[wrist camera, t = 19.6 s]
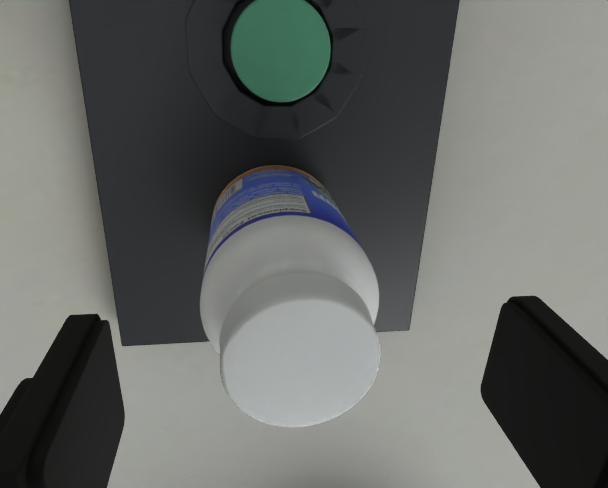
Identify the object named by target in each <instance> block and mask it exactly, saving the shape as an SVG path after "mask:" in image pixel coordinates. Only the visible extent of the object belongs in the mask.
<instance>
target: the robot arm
mask: <svg viewBox="0 0 608 488" xmlns="http://www.w3.org/2000/svg"><path fill="white" fill-rule="evenodd" d="M481 395H482V398H483V401H484V402H485V404H486V405H487V407H488V409H489V410H490V412H491V413H492V415H493V416H494V418H495V419H496V421H497V422H498V424H499V425H500V427H501V428H502V430H503V431H504V433H505V434H506V436H507V437H508V439H509V440H510V442H511V443H512V445H513V446H514V448H515V450H516V451H517V453H518V454H519V456H520V457H521V459H522V460H523V462H524V463H525V465H526V466H527V468H528V469H529V471H530V472H531V474H532V475H533V477H534V478H535V480H536V481H537V483H538V484H539V486H540V487H541V488H608V360H607V359H606V358H605V357H604V356H603V355H602V354H600V353H599V352H598V351H597V350H596V349H595V348H594V347H593V346H592V345H591V344H589V343H588V342H587V341H586V340H585V339H584V338H583V337H582V336H581V335H579V334H578V333H577V332H576V331H575V330H574V329H573V328H572V327H571V326H569V325H568V324H567V323H566V322H565V321H564V320H563V319H562V318H561V317H559V316H558V315H557V314H556V313H555V312H554V311H553V310H552V309H551V308H549V307H548V306H547V305H546V304H545V303H544V302H543V301H542V300H541V299H539V298H538V297H536V296H517V297H511V298H510V299H509V300H508V301H507V303H504V304H503V305H502V307H501V310H500V314H499V318H498V322H497V326H496V330H495V333H494V337H493V341H492V345H491V349H490V353H489V357H488V360H487V364H486V368H485V372H484V376H483V380H482V384H481ZM124 418H125V413H124V406H123V400H122V394H121V388H120V383H119V377H118V371H117V365H116V359H115V353H114V348H113V342H112V336H111V330H110V325H109V322H108V321H107V320H101V319H100V317H99V315H98V314H84V315H70V316H69V317H68V318H67V319H66V321H65V323H64V324H63V326H62V328H61V330H60V331H59V333H58V335H57V337H56V338H55V340H54V342H53V344H52V345H51V347H50V349H49V351H48V352H47V354H46V356H45V358H44V359H43V361H42V363H41V365H40V366H39V368H38V370H37V372H36V373H35V375H34V377H33V378H26V379H24V380H23V381H21V383H20V384H19V385H18V386H17V388H16V390H15V391H14V393H13V395H12V396H11V398H10V400H9V401H8V403H7V405H6V406H5V408H4V410H3V411H2V413H1V415H0V488H107V485H108V481H109V478H110V474H111V470H112V467H113V463H114V460H115V456H116V452H117V449H118V445H119V442H120V438H121V434H122V431H123V427H124Z"/></svg>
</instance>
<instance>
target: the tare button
mask: <svg viewBox="0 0 608 488" xmlns="http://www.w3.org/2000/svg"><path fill="white" fill-rule="evenodd" d="M330 53H331V45H330V37H329V33H328V30H327V27H326V25H325V23H324V21H323V19H322V17H321V16H320V15H319V13H318V12H317V11H316V10H315V9H314V8H313V7H312V6H311V5H310V4H309V3H308V2H306V1H304V0H255V1H254V2H252V3H251V4H250V5H249V6H248V7H247V8H246V9H245V10H244V11H243V12H242V13H241V15H240V16H239V18H238V20H237V21H236V24H235V26H234V29H233V32H232V37H231V57H232V62H233V65H234V68H235V71H236V73H237V75H238V77H239V78H240V80H241V81H242V82H243V84H244V85H245V86H246V87H247V88H248V89H249V90H250V91H251V92H253V93H254V94H255V95H257V96H259V97H261V98H263V99H266V100H268V101H273V102H290V101H294V100H297V99H300V98H302V97H304V96H306V95H307V94H309V93H310V92H311V91H312V90H314V89H315V88H316V86H317V85H318V84H319V83H320V81H321V80H322V78H323V77H324V75H325V73H326V70H327V68H328V64H329V60H330Z"/></svg>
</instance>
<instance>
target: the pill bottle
mask: <svg viewBox="0 0 608 488" xmlns="http://www.w3.org/2000/svg"><path fill="white" fill-rule="evenodd" d="M378 307H379V289H378V283H377V279H376V275H375V272H374V270H373V267H372V265H371V263H370V261H369V259H368V258H367V256H366V254H365V252H364V250H363V249H362V247H361V246H360V244H359V242H358V241H357V239H356V237H355V236H354V234H353V232H352V230H351V229H350V227H349V225H348V224H347V222H346V220H345V218H344V217H343V215H342V214H341V212H340V210H339V209H338V207H337V205H336V204H335V202H334V200H333V199H332V197H331V195H330V194H329V192H328V191H327V190H326V189H325V188H324V186H323V185H322V184H321V183H320V182H319V181H318V180H316V179H315V178H314V177H313V176H311V175H309V174H308V173H306V172H304V171H302V170H299V169H297V168H293V167H289V166H282V165H269V166H262V167H257V168H254V169H251V170H249V171H246V172H244V173H243V174H241V175H239V176H238V177H236V178H235V179H234V180H233V181H231V182H230V183H229V184H228V185H227V186H226V188H225V189H224V190H223V191H222V193H221V195H220V196H219V198H218V200H217V202H216V205H215V207H214V211H213V215H212V221H211V228H210V236H209V243H208V249H207V256H206V262H205V268H204V274H203V280H202V288H201V295H200V314H201V320H202V324H203V328H204V331H205V333H206V336H207V338H208V340H209V342H210V343H211V345H212V346H213V348H214V349H215V350H216V352H217V353H218V354H219V355H220V373H221V378H222V382H223V385H224V387H225V390H226V392H227V394H228V395H229V397H230V398H231V400H232V401H233V402H234V403H235V404H236V405H237V407H238V408H240V409H241V410H242V411H243V412H244V413H246V414H247V415H249V416H251V417H253V418H255V419H257V420H259V421H261V422H264V423H267V424H271V425H275V426H282V427H304V426H310V425H315V424H319V423H322V422H325V421H328V420H331V419H333V418H335V417H337V416H339V415H341V414H342V413H344V412H346V411H347V410H349V409H350V408H351V407H353V406H354V405H355V404H356V403H357V402H359V401H360V400H361V399H362V398H363V396H364V395H365V394H366V393H367V391H368V390H369V389H370V387H371V386H372V384H373V382H374V380H375V378H376V375H377V373H378V368H379V365H380V359H381V350H380V343H379V339H378V336H377V333H376V330H375V328H374V323H375V320H376V316H377V312H378Z"/></svg>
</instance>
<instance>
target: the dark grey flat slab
mask: <svg viewBox="0 0 608 488" xmlns="http://www.w3.org/2000/svg"><path fill="white" fill-rule="evenodd" d="M254 1H255V0H69V4H70V11H71V17H72V24H73V30H74V37H75V43H76V50H77V56H78V63H79V69H80V76H81V82H82V89H83V95H84V102H85V108H86V115H87V121H88V128H89V134H90V141H91V148H92V154H93V161H94V167H95V174H96V180H97V187H98V193H99V200H100V206H101V213H102V219H103V226H104V232H105V239H106V245H107V252H108V258H109V265H110V271H111V278H112V285H113V291H114V298H115V304H116V311H117V317H118V324H119V330H120V337H121V343H122V346H134V345H152V344H170V343H188V342H206V341H209V340H208V338H207V336H206V333H205V331H204V328H203V324H202V320H201V314H200V295H201V288H202V280H203V274H204V268H205V262H206V256H207V249H208V243H209V236H210V228H211V221H212V215H213V211H214V207H215V205H216V202H217V200H218V198H219V196H220V195H221V193H222V191H223V190H224V189H225V188H226V186H227V185H228V184H229V183H230V182H231V181H233V180H234V179H235V178H236V177H238V176H239V175H241V174H243V173H244V172H246V171H249V170H251V169H254V168H257V167H262V166H269V165H282V166H289V167H293V168H297V169H299V170H302V171H304V172H306V173H308V174H309V175H311V176H313V177H314V178H315V179H316V180H318V181H319V182H320V183H321V184H322V185H323V186H324V188H325V189H326V190H327V191H328V192H329V194H330V195H331V197H332V199H333V200H334V202H335V204H336V205H337V207H338V209H339V210H340V212H341V214H342V215H343V217H344V218H345V220H346V222H347V224H348V225H349V227H350V229H351V230H352V232H353V234H354V236H355V237H356V239H357V241H358V242H359V244H360V246H361V247H362V249H363V250H364V252H365V254H366V256H367V258H368V259H369V261H370V263H371V265H372V267H373V270H374V272H375V275H376V279H377V283H378V289H379V307H378V312H377V316H376V320H375V323H374V328H375V330H376V332H387V331H405V330H409V329H410V322H411V316H412V309H413V302H414V296H415V289H416V283H417V276H418V270H419V263H420V256H421V250H422V243H423V237H424V230H425V224H426V217H427V210H428V204H429V197H430V191H431V184H432V178H433V171H434V165H435V158H436V151H437V145H438V138H439V132H440V125H441V119H442V112H443V105H444V99H445V92H446V86H447V79H448V73H449V66H450V59H451V53H452V46H453V40H454V33H455V27H456V20H457V13H458V7H459V0H304V1H306V2H308V3H309V4H310V5H311V6H312V7H313V8H314V9H315V10H316V11H317V12H318V13H319V15H320V16H321V17H322V19H323V21H324V23H325V25H326V27H327V30H328V33H329V37H330V45H331V53H330V60H329V64H328V68H327V70H326V73H325V75H324V77H323V78H322V80H321V81H320V83H319V84H318V85H317V86H316V88H315V89H314V90H312V91H311V92H310V93H309V94H307V95H306V96H304V97H302V98H300V99H297V100H294V101H290V102H273V101H268V100H266V99H263V98H261V97H259V96H257V95H255V94H254V93H253V92H251V91H250V90H249V89H248V88H247V87H246V86H245V85H244V84H243V82H242V81H241V80H240V78H239V77H238V75H237V73H236V71H235V68H234V65H233V62H232V57H231V37H232V32H233V29H234V26H235V24H236V21H237V20H238V18H239V16H240V15H241V13H242V12H243V11H244V10H245V9H246V8H247V7H248V6H249V5H250V4H251V3H252V2H254Z"/></svg>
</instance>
